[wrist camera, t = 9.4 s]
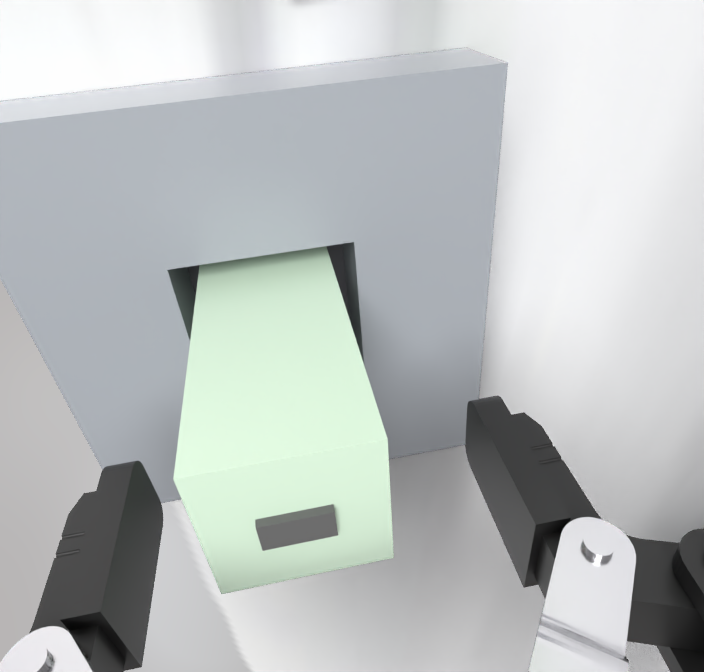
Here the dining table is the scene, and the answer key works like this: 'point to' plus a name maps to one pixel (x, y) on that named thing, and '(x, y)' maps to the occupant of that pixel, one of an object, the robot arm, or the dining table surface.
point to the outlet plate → (256, 230)
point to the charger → (280, 426)
